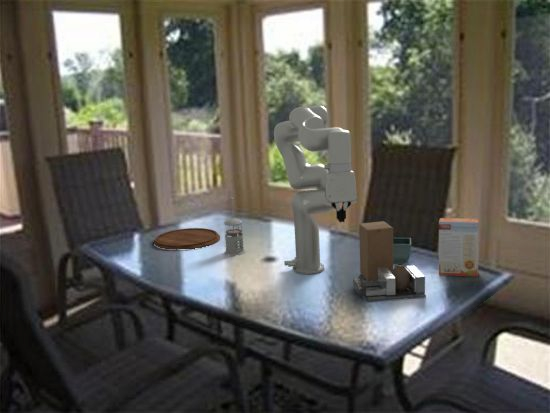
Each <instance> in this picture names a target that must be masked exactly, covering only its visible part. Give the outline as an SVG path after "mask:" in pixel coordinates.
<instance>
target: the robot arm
mask: <svg viewBox="0 0 550 413" xmlns="http://www.w3.org/2000/svg"><path fill="white" fill-rule="evenodd" d="M288 117H289V119H288V120H286V121H285V120H284V121H281V122H279V123H277V124H276V125H275V126H274V130H273V138H274V143H275V145H276V148H277V150H278V152H279V153H280V156H281V157H282V159H283V163H284V167H285V171H286V176H287V180H288V183H289V186H290V188H291V189H293V190H295V191H296V190H300V191H299V192H295V193H294V194H293V195H292V196H291V199H290V208H291V212H292V217H293V224H294V241H295V242H294V245H295V257H294V259H292V260H284V266H285V267H286V266H288V267H289V268H291V267H292V271H293V272H294V273H296V274H300V275H313V274H319V273H322V272H323V271H324V270H325V265H324V264H323V263H321V252H320V251H321V249H320V247H321V246H320V227H319V223H318V222H317V220H316V219H314V217H313V216H314V215H321V214H326V213H327V214H328V213H331V212H333V211H334V210H335V211H336V212H335V213H336V220H337V221H338V222H339V223H345V220H346V219H347V210H348V208H349V207H350V206H351V205H354V204H357V202H358V201H357V198H358V197H357V196H358V190H357V181H356V175H355V171H353V170H352V148H351V145H352V144H351V143H352V142H351V141H352V140H351V139H352V138H351V133H350V131H349V130H347V129H343V128H341V127H339V126H335V127H327V125H328V123H329V113H328V111H327V108H325V107H324V106H323V105H317V104H315V105H307V106H306V105H305V106H298V107H295V108H294V109H293V110H291V111H290V113H289V116H288ZM298 142H299V143H300V145H301V146H302V147H303V148H304V149H305V150H307V151H309V152H313V153H314V152H323V151H324V152H325V151H327V164H326V165H325V164H322V163H311V164H310V163H307V160H306V156H305V153H304V152H303V150H302V149H300V147H298V146H297V145H296V144H294V143H298ZM308 189H310V190H308ZM301 190H304V191H301ZM340 203H342V205H341V206H340ZM288 267H287V268H288Z"/></svg>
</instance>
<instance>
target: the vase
mask: <svg viewBox="0 0 550 413" xmlns="http://www.w3.org/2000/svg"><path fill="white" fill-rule="evenodd" d="M391 273H392V275H393V276H394V277H395V289H396V290H405V289H406V288H408V286H409V284H410V274H409V272H408V270H407V269H406V266H405V264H395V266H394V267H393V271H392V272H391Z"/></svg>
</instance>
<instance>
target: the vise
mask: <svg viewBox="0 0 550 413" xmlns="http://www.w3.org/2000/svg"><path fill="white" fill-rule="evenodd" d="M405 268H406V269H407V270H408V272H409V274H410V284H409V286H408V288H406V289H405V290H396V289H395V295H374V296H366V297H364V298H365V300H366V301H367V303H376V302H377V303H378V302H387V301H388V302H389V301H400V300H411V299H413V300H414V299H423V298H424V299H425V298H427V294H426V276H425V275H424V274H423V273H422V272H421V270H419V269H418V267H416V265H414V264H413V265H406V266H405ZM365 287H366V290H377V289H382V288H381V287H380V285H377V286H365Z"/></svg>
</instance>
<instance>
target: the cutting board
mask: <svg viewBox="0 0 550 413" xmlns="http://www.w3.org/2000/svg"><path fill="white" fill-rule="evenodd" d="M220 240H221V236H220V234H219V233H218V232H217V231H216V230H214V229H210V228H204V227H203V228H202V227H189V228H179V229H175V230H169V231H166V232H163V233H161V234H158V235H157V236H156V237H155V238H154V240H153V241H154V244H155V245H156V246H158V247H160V248H165V249H176V250H177V249H194V250H196V249H195V248H200V249H203V248H202V247H204V248H207V247H206V246H208V247H210V245H211V246H213V245H215V244H216V243H218V242H220Z"/></svg>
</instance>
